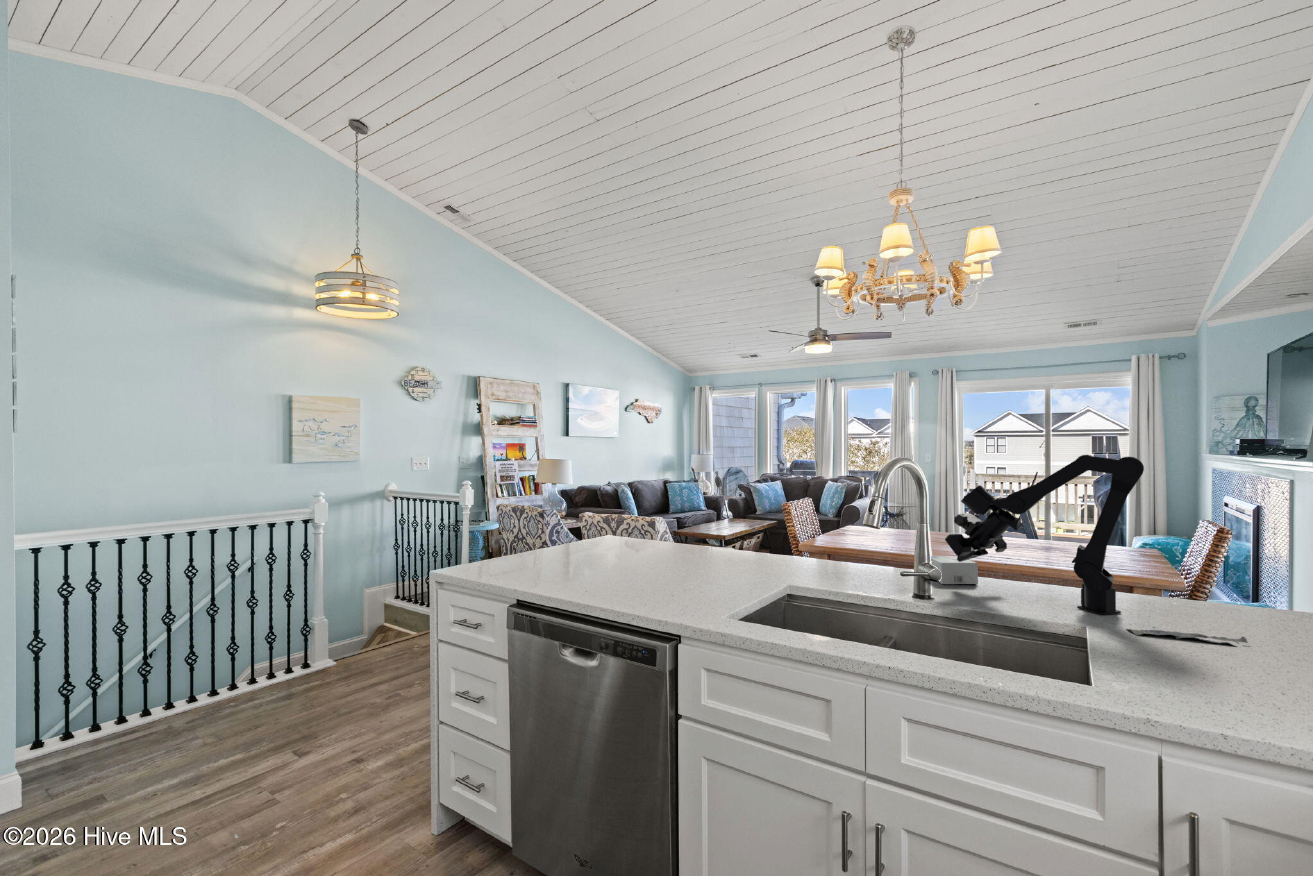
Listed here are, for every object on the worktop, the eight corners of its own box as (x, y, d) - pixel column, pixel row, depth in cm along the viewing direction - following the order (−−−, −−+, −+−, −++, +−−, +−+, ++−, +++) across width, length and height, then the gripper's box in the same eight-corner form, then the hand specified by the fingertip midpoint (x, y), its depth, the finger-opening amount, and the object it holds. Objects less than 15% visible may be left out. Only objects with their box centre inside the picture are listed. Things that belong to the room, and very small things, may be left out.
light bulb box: (978, 585, 175) (963, 577, 186) (978, 562, 175) (962, 556, 186) (940, 584, 176) (927, 577, 186) (940, 561, 176) (927, 555, 187)
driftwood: (1130, 637, 129) (1130, 628, 129) (1122, 629, 135) (1122, 620, 135) (1258, 654, 120) (1258, 643, 120) (1243, 644, 126) (1244, 634, 126)
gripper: (997, 503, 173) (964, 536, 183) (950, 505, 166) (919, 540, 176) (1023, 534, 166) (987, 566, 176) (975, 538, 158) (941, 571, 168)
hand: (958, 560), depth 174 cm, fingers closed
